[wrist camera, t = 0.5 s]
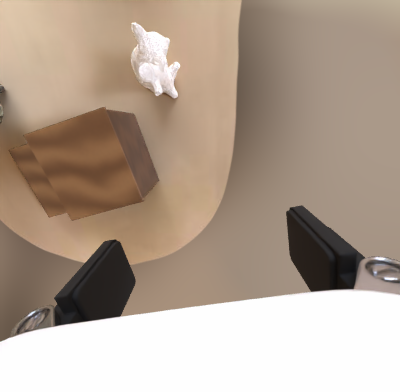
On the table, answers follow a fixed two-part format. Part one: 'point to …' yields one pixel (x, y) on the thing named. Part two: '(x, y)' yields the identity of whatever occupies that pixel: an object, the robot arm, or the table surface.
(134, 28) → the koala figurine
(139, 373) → the robot arm
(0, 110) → the spike-topped wooden block
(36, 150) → the step shelf
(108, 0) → the table surface
